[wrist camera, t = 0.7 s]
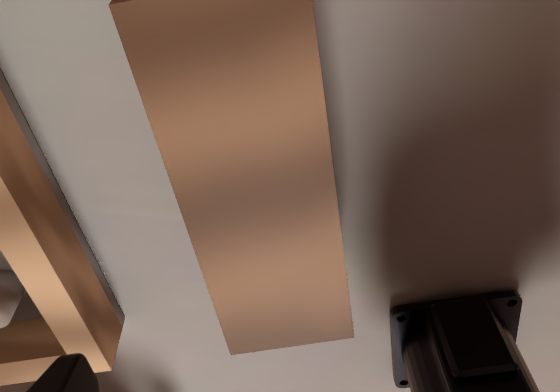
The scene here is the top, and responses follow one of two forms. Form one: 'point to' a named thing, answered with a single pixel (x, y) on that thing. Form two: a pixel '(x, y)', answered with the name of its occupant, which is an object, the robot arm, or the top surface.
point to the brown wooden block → (247, 159)
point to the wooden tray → (45, 265)
